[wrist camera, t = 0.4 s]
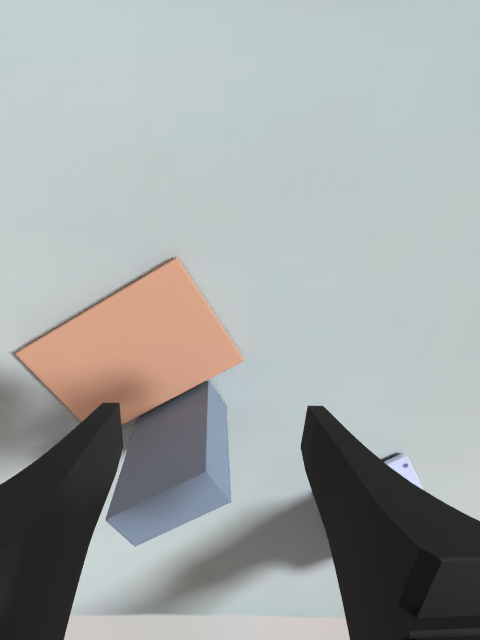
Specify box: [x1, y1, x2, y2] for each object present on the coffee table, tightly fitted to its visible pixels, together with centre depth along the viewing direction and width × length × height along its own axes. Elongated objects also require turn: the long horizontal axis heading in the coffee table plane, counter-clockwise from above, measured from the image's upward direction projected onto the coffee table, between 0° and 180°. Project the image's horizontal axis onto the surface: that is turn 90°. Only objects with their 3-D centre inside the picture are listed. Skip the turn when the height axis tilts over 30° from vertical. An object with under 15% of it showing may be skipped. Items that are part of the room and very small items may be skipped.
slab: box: [106, 381, 231, 546], centre depth 21 cm, size 2×6×8 cm, turn 119°
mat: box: [16, 257, 243, 425], centre depth 22 cm, size 8×12×1 cm, turn 119°
